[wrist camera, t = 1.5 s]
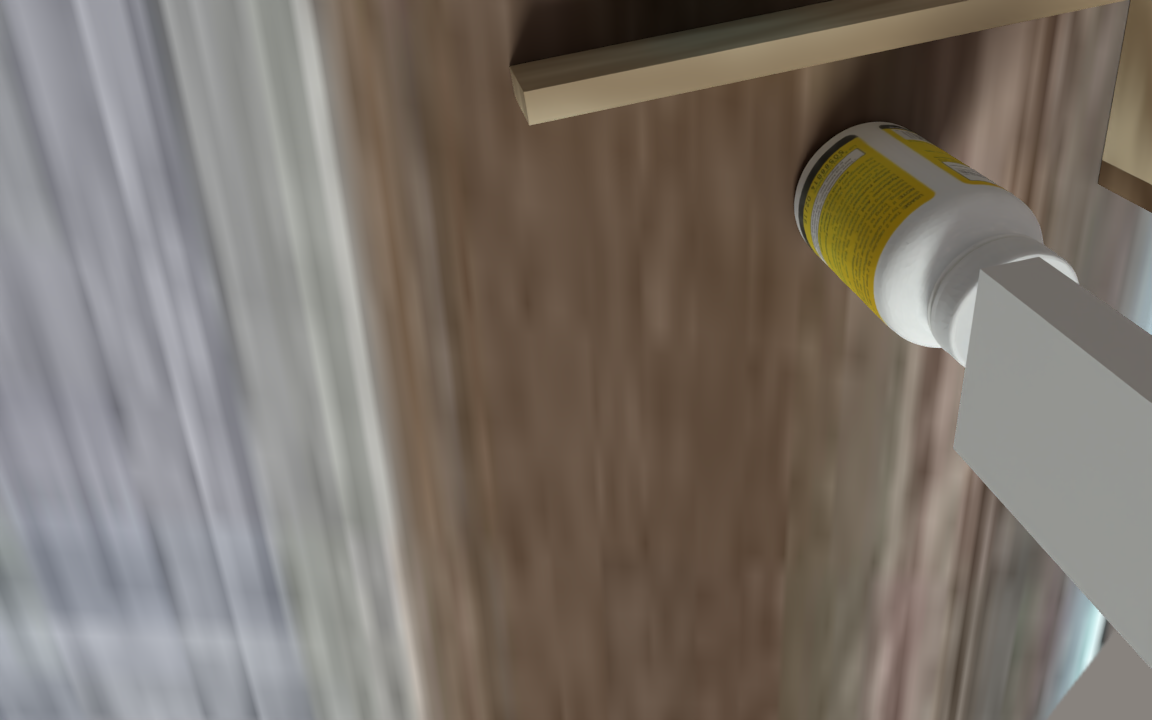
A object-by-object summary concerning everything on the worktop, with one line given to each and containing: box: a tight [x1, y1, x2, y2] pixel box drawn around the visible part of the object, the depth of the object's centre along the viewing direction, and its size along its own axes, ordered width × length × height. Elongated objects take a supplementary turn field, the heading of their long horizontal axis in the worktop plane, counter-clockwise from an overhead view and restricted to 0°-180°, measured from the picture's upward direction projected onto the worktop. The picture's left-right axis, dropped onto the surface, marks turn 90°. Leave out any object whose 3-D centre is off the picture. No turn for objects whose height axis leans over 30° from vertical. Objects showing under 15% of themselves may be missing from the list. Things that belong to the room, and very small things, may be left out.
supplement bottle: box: [794, 122, 1079, 367], centre depth 30 cm, size 5×5×10 cm
